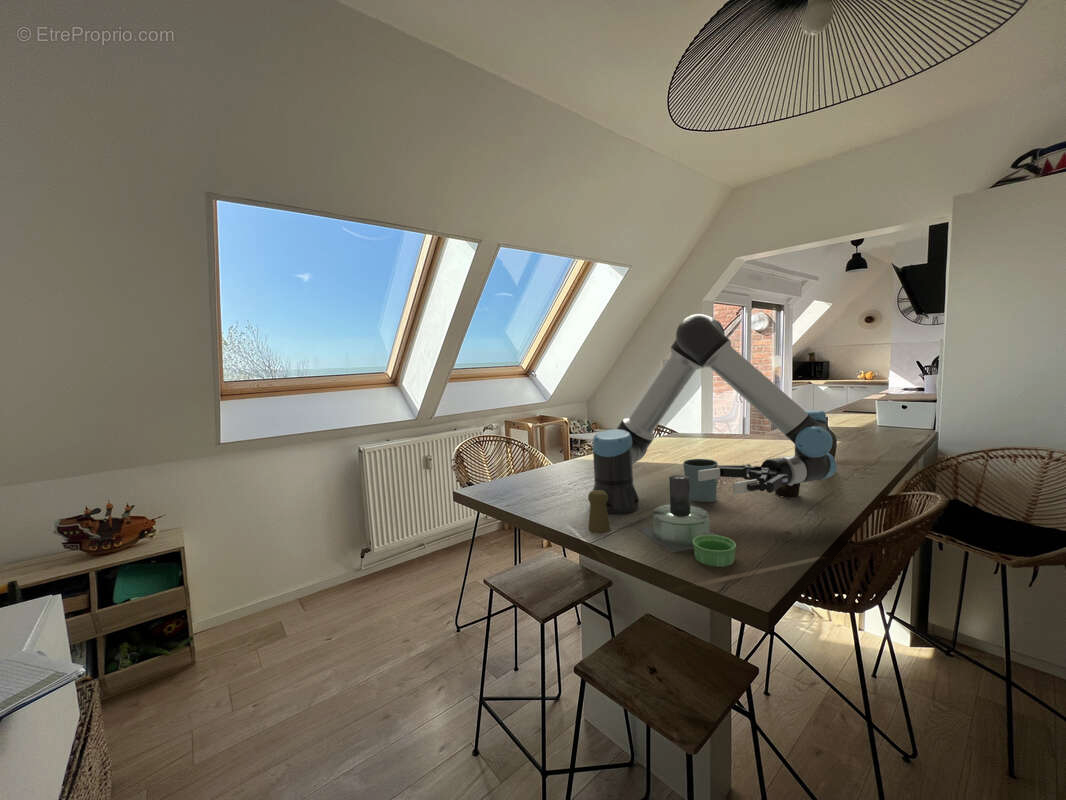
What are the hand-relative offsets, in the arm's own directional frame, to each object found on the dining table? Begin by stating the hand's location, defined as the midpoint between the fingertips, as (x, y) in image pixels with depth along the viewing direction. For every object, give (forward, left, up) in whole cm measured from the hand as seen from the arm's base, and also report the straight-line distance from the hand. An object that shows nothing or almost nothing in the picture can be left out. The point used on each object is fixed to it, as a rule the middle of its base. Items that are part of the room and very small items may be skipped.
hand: (715, 481), depth 115 cm
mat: (0, -10, -13) cm, 17 cm away
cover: (0, -10, -12) cm, 16 cm away
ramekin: (+14, -11, -13) cm, 22 cm away
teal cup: (-23, +13, -13) cm, 30 cm away
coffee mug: (-17, +40, -13) cm, 45 cm away
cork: (-12, -27, -13) cm, 33 cm away
